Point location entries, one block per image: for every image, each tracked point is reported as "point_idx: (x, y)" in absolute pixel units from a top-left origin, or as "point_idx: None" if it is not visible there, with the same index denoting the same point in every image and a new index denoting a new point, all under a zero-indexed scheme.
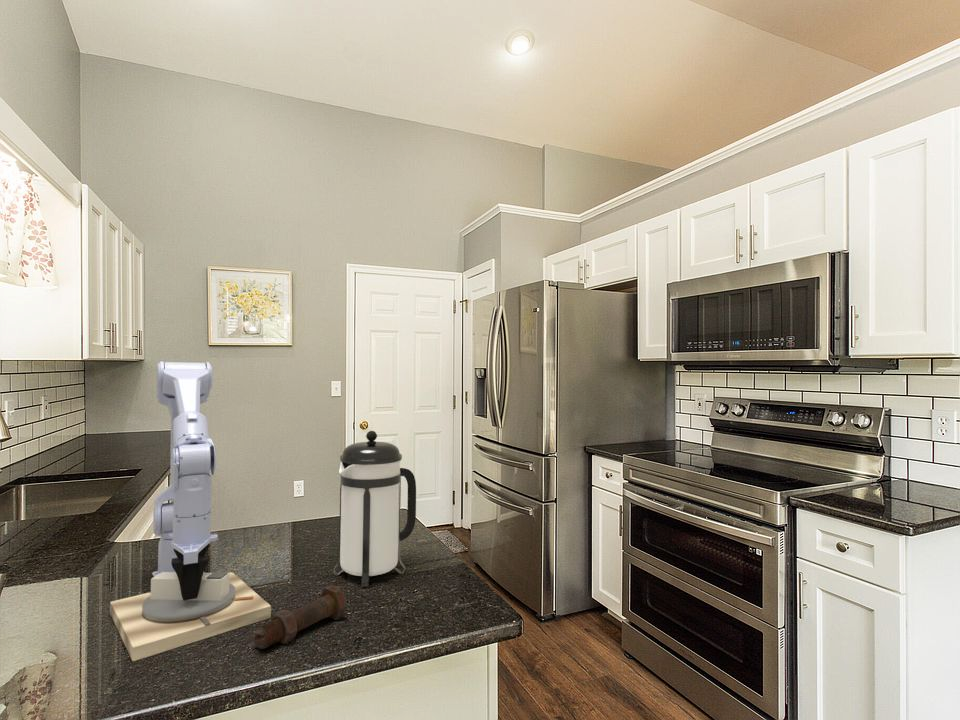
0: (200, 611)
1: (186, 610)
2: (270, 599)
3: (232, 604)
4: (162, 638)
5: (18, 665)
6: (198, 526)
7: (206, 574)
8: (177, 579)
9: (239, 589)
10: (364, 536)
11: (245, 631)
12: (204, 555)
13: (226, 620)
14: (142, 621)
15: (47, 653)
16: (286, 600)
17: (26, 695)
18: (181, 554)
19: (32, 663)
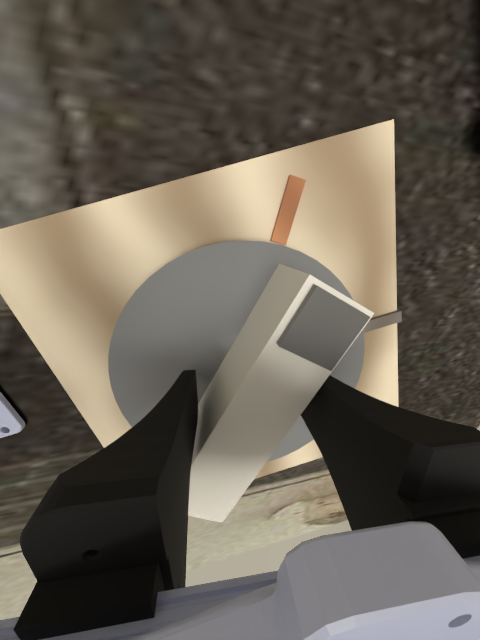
0: (363, 341)
1: (339, 374)
2: (225, 110)
3: (308, 251)
4: (396, 395)
5: (295, 530)
6: None
7: (270, 371)
8: (269, 456)
9: (187, 220)
10: None
11: (398, 221)
12: (175, 437)
13: (393, 270)
14: None
15: (277, 515)
16: (261, 43)
17: None
18: (184, 553)
19: (299, 519)
